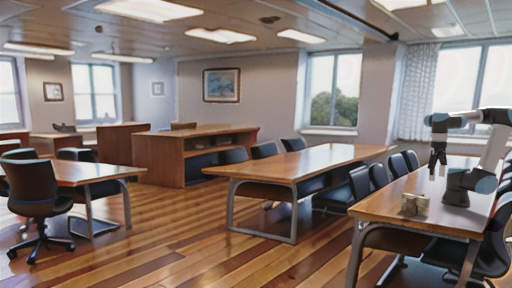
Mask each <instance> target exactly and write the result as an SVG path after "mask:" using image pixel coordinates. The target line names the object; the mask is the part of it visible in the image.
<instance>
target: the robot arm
mask: <svg viewBox="0 0 512 288" xmlns="http://www.w3.org/2000/svg"><path fill="white" fill-rule="evenodd" d="M423 124H424V126H425V127H428V128H431V134H430V136H431V140H430V148H432V149H433V150H431V151H430V156H429V159H428V164H427V167H426V168H427V169H428V181H430V182H435V181H436V166H437V163H438V161H439V166H438V167H439V170H438V177H441V178H445V175H446V185H445V190H444V192H443V194H442V197H441V202H442V203H443V204H446V205H449V206H452V207H460V208H461V207H462V208H467V207H470V206H471V199H470V196H469V192H471V193H476V194H477V195H478V194H479V195H484V196H488V195H491V194H493V193H494V192H495V191H496V190H497V189H498V187H499V179H498V178H497V173H496V169H497V166H498V165H499V162H500V160H501V157H502V155H503V152H504V150H505V147H506V145H507V143H508V140H509V137H510V136H511V134H512V105H490V106H483V107H478V108H473V109H471V110H466V111H465V110H464V111H459V112H458V111H456V112H445V111H444V112H443V111H442V112H441V111H438V112H437V111H435V112H433V113H432V114H426V115H425V116H424V118H423ZM467 124H473V125H487V126H490V127H491V129H492V130H491V132H490V134H489V137H488V139H487V142H486V143H485V146H484V148H483V151H482V154H481V156H480V158H479V160H478V163H477V165H476V166H474V167H472V170H471V168H470V167H466V166H465V167H464V166H463V167H461V166H460V167H459V166H457V167H453V166H452V167H449V168H448V169H447V173H446V166H448V158H447V151H446V149H447V146H448V142H447V141H448V138H449V137H448V134H449V132H448V131H449V130H460V129H464V128H465V127H466V126H467Z"/></svg>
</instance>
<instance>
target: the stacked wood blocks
mask: <svg viewBox="0 0 512 288" xmlns="http://www.w3.org/2000/svg"><path fill="white" fill-rule="evenodd" d="M410 196H413V197H417V198H416V206H418V213H417V216H422V217H426V218H427V217H428V216H429V214H430V213H429V211H430V203H431V201H430V200H431V198H430V197H425V196H424V197H422V196H417V195H415V194H412V193H409V192H402V193H401V200H400V201H401V203H400V211H403V212H406V198H407V197H410Z"/></svg>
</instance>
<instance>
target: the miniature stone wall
mask: <svg viewBox="0 0 512 288" xmlns="http://www.w3.org/2000/svg"><path fill="white" fill-rule="evenodd" d="M414 195H417V196H422V197H425V193H421V192H418V193H415V194H414ZM416 198H417V197H413V196H410V197H407V198H406V211H404V212H405V216H408V217H413V216H415V215H418V206H416Z"/></svg>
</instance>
